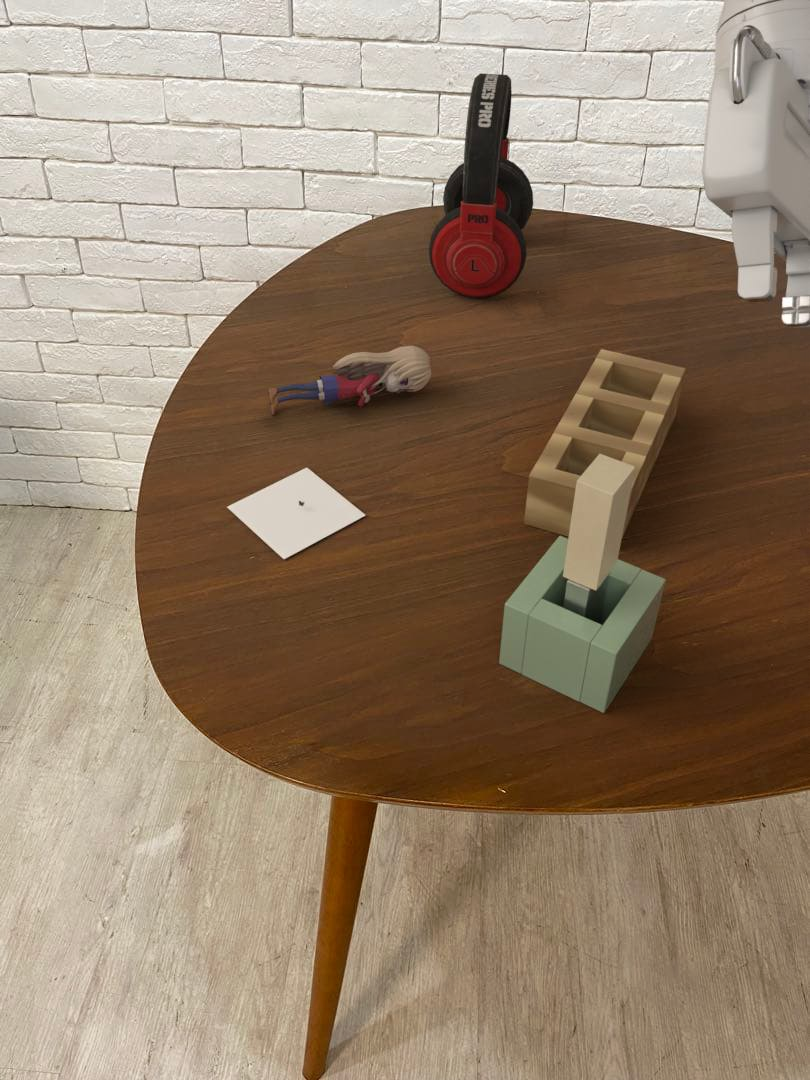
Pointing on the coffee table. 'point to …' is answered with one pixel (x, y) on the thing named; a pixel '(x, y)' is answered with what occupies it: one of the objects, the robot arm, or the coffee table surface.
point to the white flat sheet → (295, 512)
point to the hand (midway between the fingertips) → (778, 313)
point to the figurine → (364, 377)
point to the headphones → (483, 202)
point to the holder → (579, 630)
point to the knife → (596, 534)
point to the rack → (604, 433)
